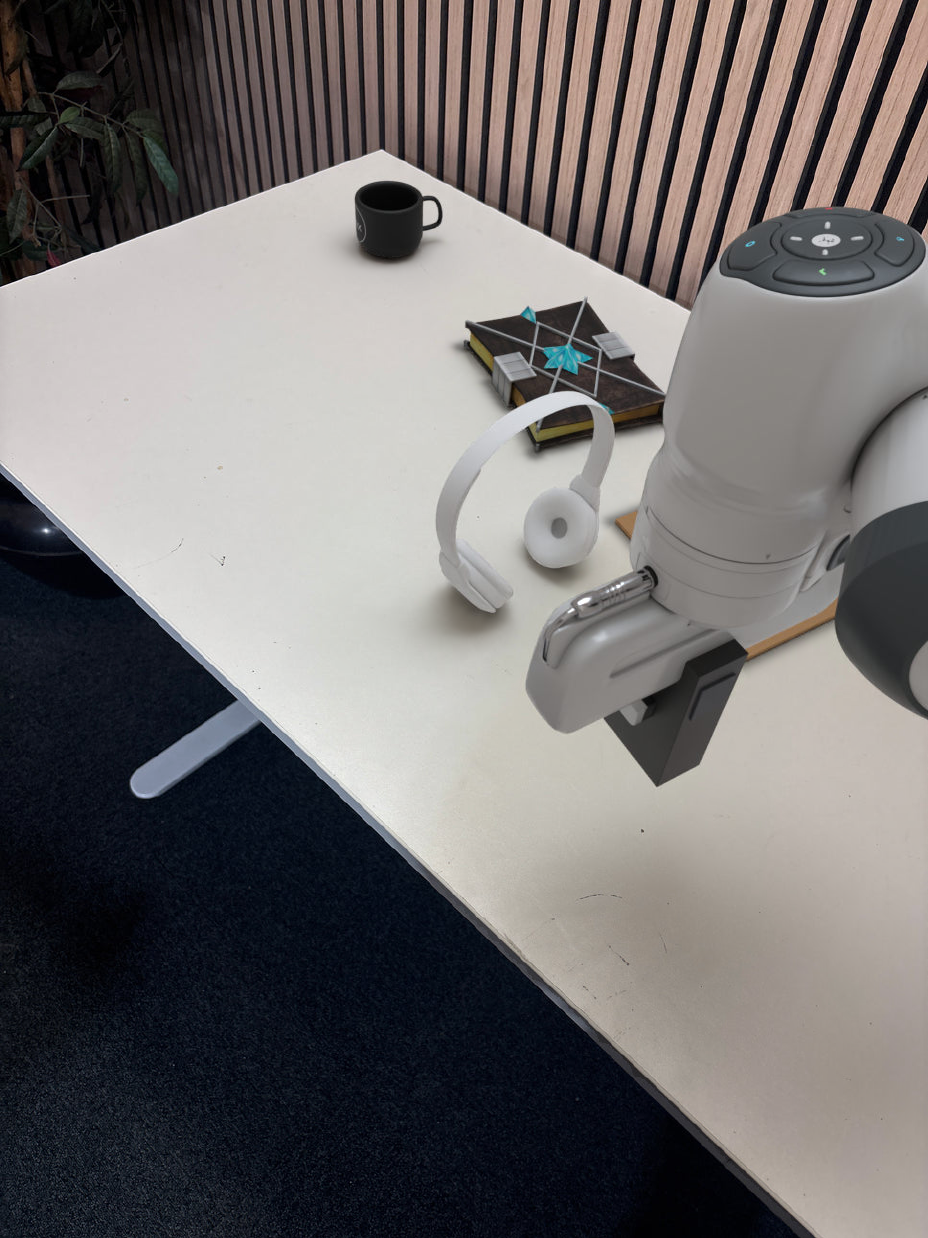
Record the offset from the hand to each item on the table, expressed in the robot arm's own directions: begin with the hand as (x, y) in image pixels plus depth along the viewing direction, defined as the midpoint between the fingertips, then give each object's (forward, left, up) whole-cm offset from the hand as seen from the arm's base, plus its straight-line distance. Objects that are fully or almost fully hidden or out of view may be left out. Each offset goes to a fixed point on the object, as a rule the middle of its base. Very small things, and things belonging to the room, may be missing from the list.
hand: (666, 697), depth 57 cm
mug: (+86, -25, -19) cm, 92 cm away
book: (+50, -28, -19) cm, 60 cm away
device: (0, 0, -5) cm, 5 cm away
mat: (+18, -27, -18) cm, 37 cm away
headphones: (+26, -7, -19) cm, 33 cm away
